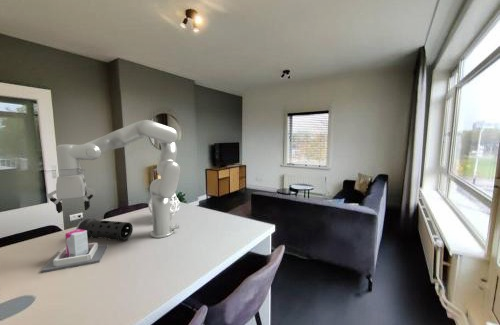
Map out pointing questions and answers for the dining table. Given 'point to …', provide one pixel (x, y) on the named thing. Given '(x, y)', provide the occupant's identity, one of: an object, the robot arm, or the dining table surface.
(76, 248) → the supplement box
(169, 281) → the dining table surface
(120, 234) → the muzzle brake
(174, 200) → the decorative ball
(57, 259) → the socket plate
